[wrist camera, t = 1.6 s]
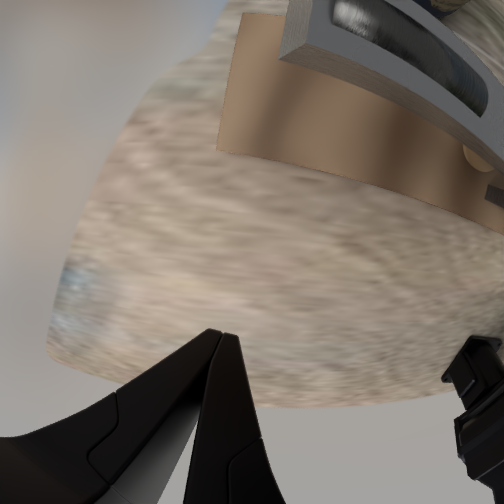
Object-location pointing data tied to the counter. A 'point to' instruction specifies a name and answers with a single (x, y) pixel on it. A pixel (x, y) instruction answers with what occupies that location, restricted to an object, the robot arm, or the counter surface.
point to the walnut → (476, 160)
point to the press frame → (495, 196)
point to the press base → (343, 129)
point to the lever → (401, 64)
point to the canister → (440, 6)
